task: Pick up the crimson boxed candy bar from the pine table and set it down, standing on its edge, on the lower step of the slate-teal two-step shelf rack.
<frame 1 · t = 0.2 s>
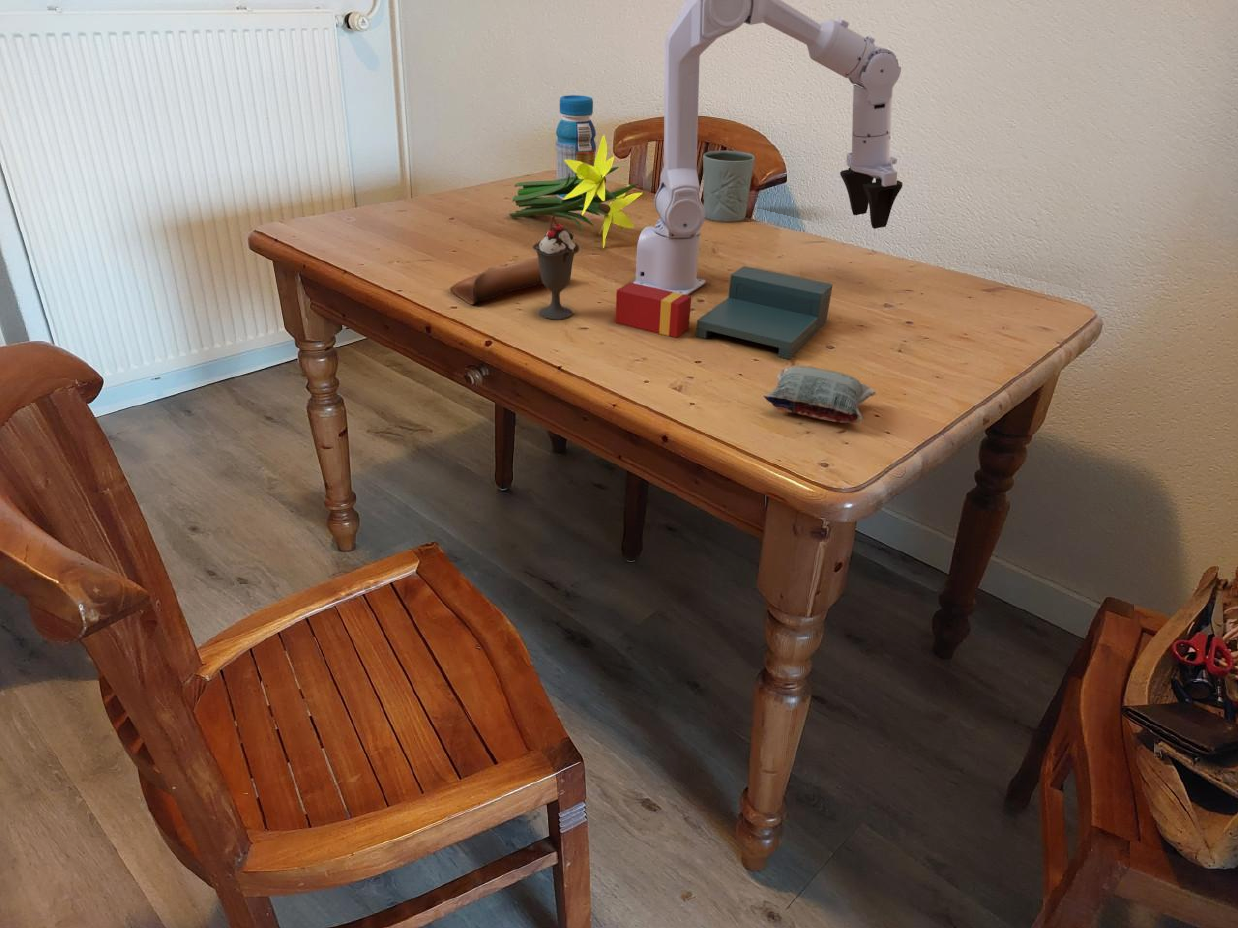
hand: (869, 220, 140), 11 cm above the table, tool pointing down, fingers open, 7 cm apart
candy bar: (651, 325, 126), on the table
packaged food: (816, 410, 106), on the table
shelf rack: (762, 329, 127), on the table
sundae: (555, 315, 129), on the table
sage green ceramic cup: (722, 217, 178), on the table
beverage bottle: (575, 198, 186), on the table
sunglasses case: (509, 289, 138), on the table
daffodil flowers: (564, 234, 164), on the table
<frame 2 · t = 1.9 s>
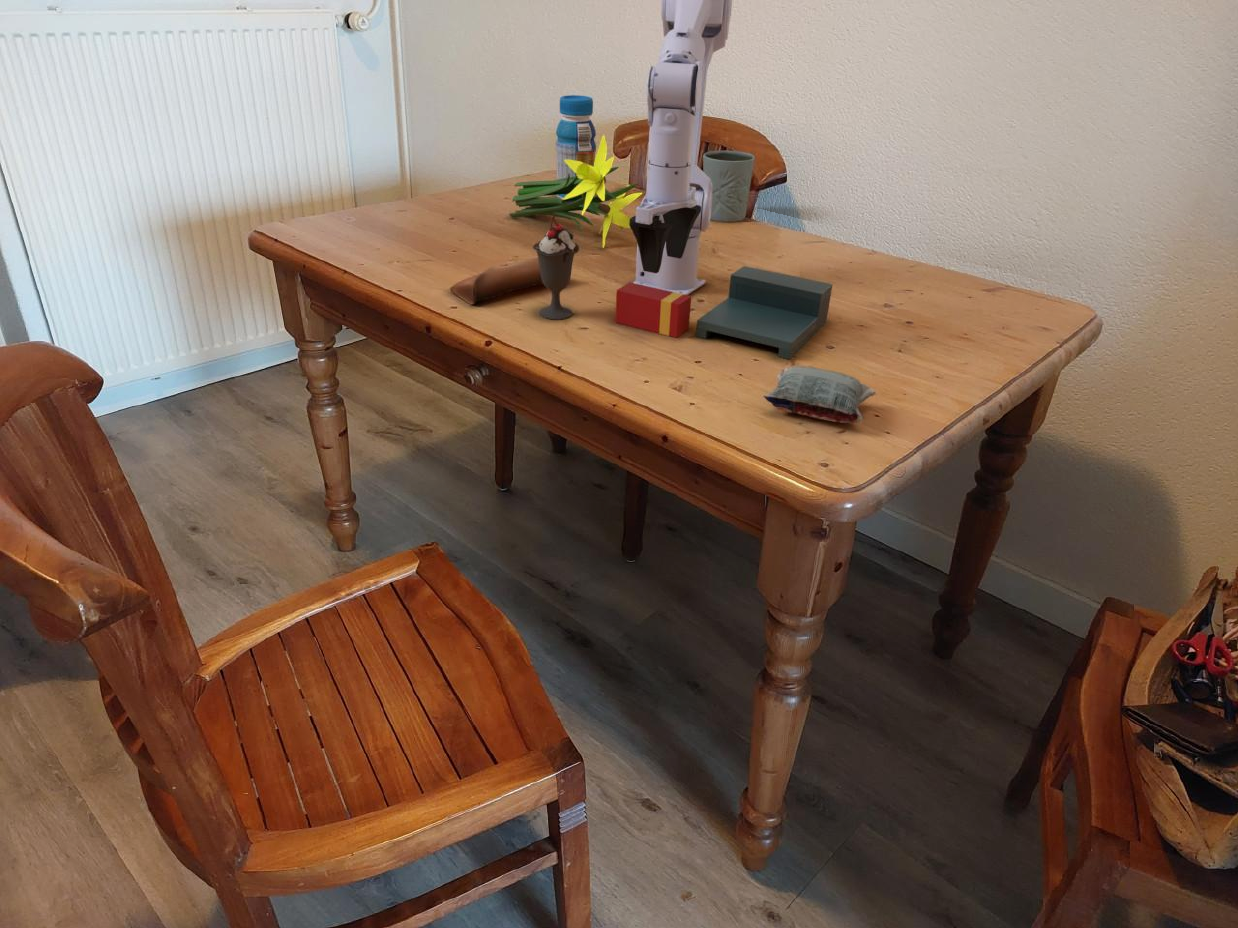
hand: (663, 264, 121), 9 cm above the table, tool pointing down, fingers open, 7 cm apart
nothing on the table moved.
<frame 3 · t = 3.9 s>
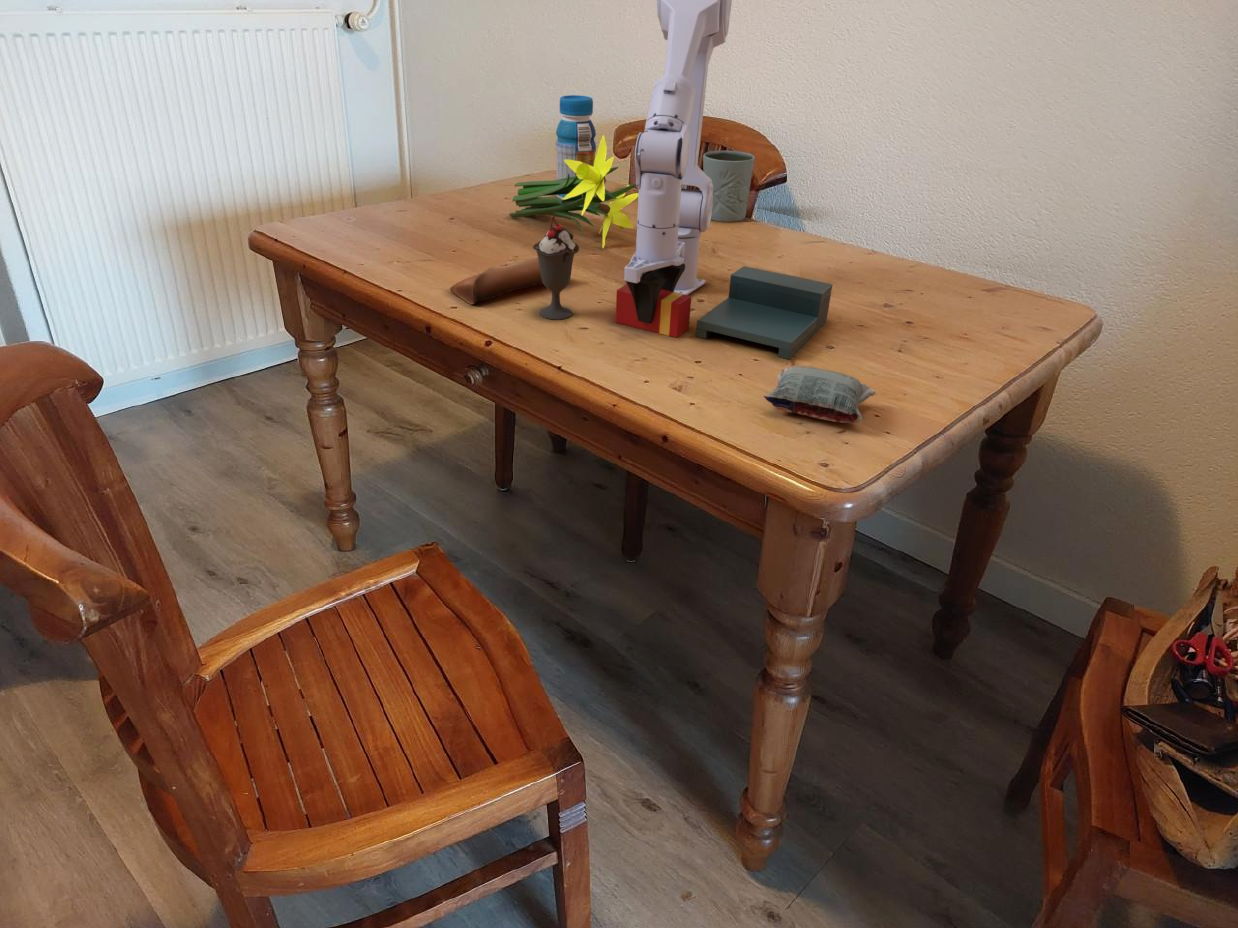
hand: (652, 316, 126), 1 cm above the table, tool pointing down, fingers closed on candy bar, 4 cm apart
candy bar: (652, 325, 126), on the table, touching gripper
everything else where it was.
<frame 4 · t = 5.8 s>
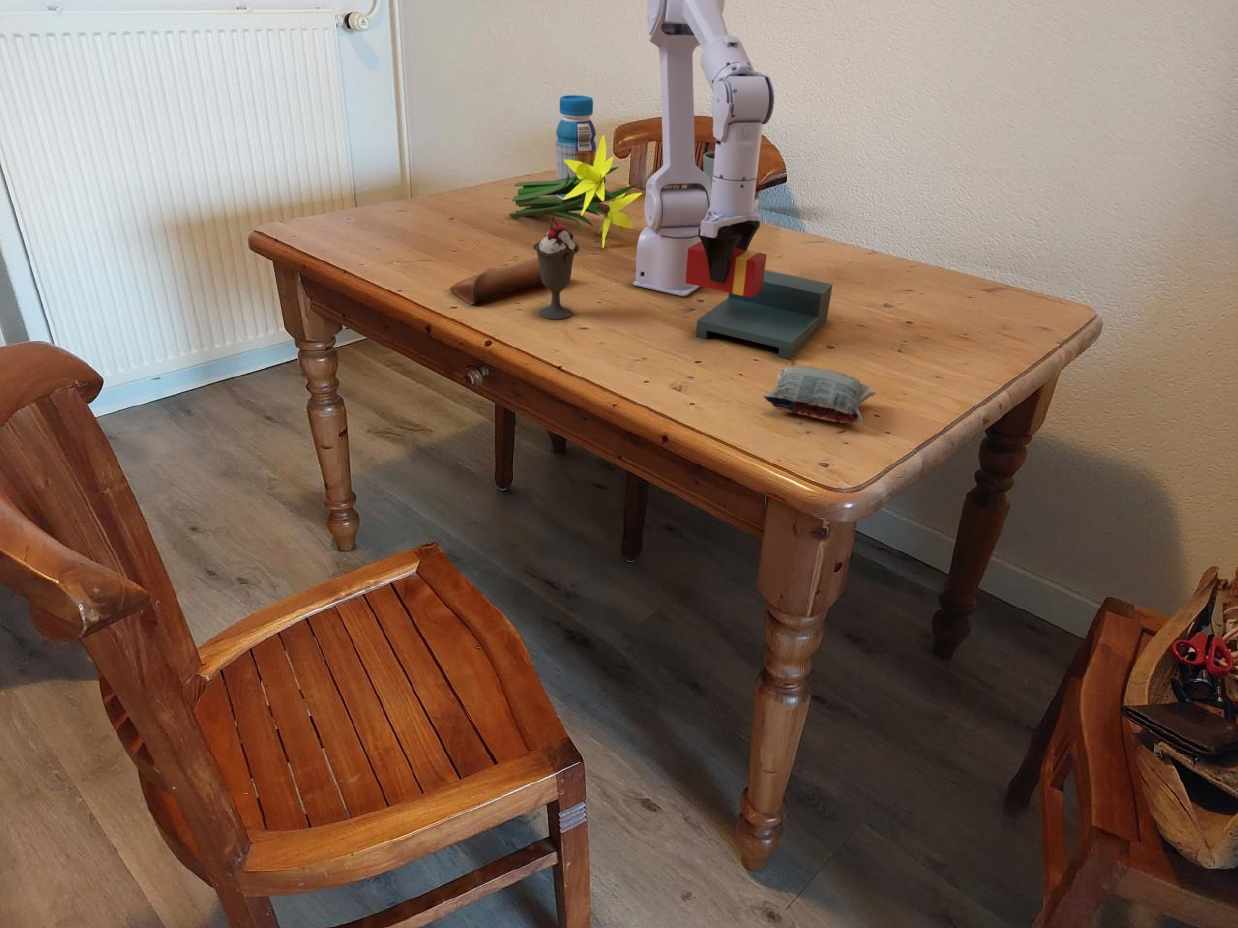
hand: (724, 276, 120), 8 cm above the table, tool pointing down, fingers closed on candy bar, 4 cm apart
candy bar: (723, 286, 121), point 7 cm above the table, touching gripper
everything else where it was.
when the fingers open (4 cm above the table, at t = 7.8 s): candy bar stays where it is, resting on shelf rack.
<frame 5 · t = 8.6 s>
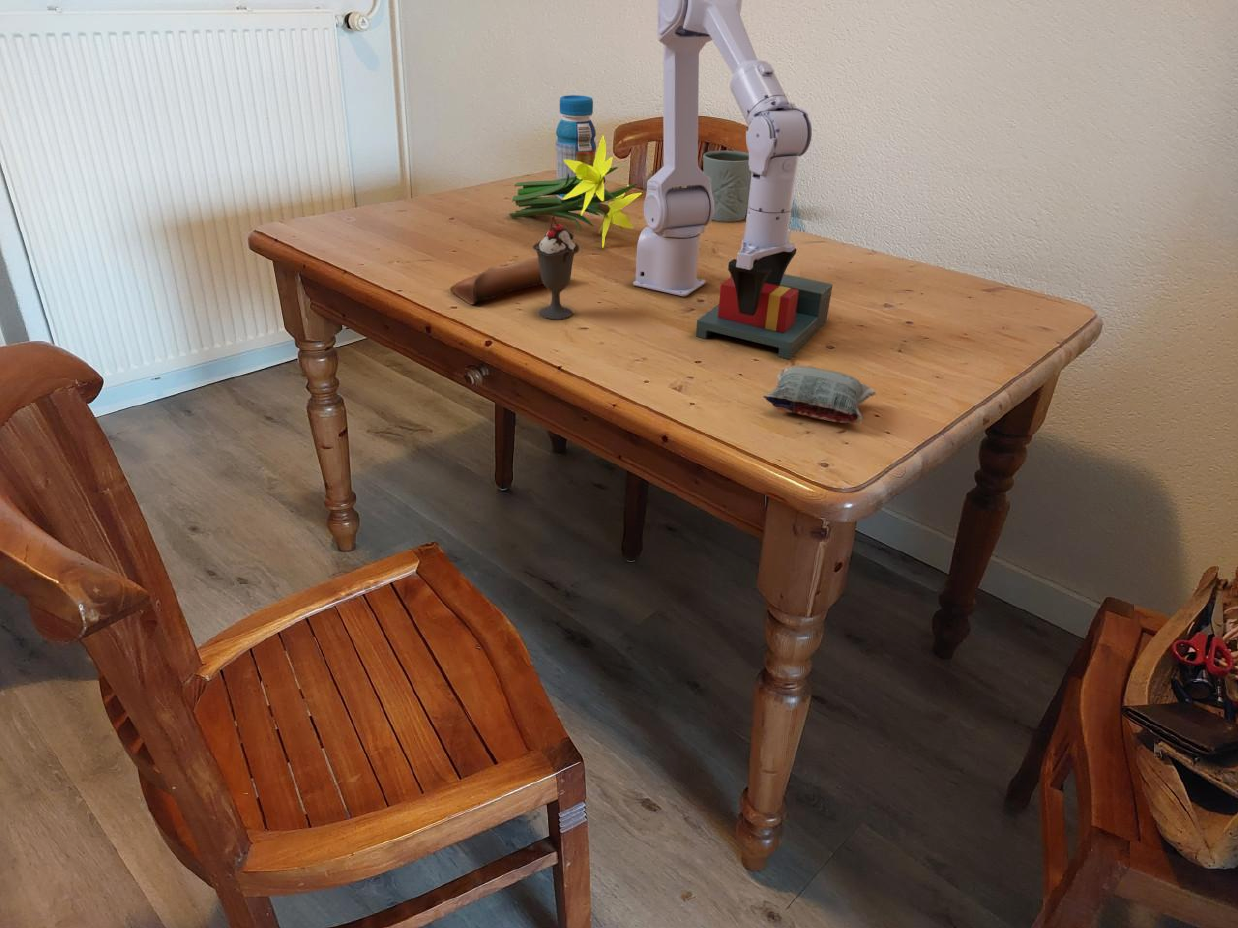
hand: (757, 305, 122), 5 cm above the table, tool pointing down, fingers open, 7 cm apart
candy bar: (755, 320, 123), point 3 cm above the table, touching shelf rack
everything else where it was.
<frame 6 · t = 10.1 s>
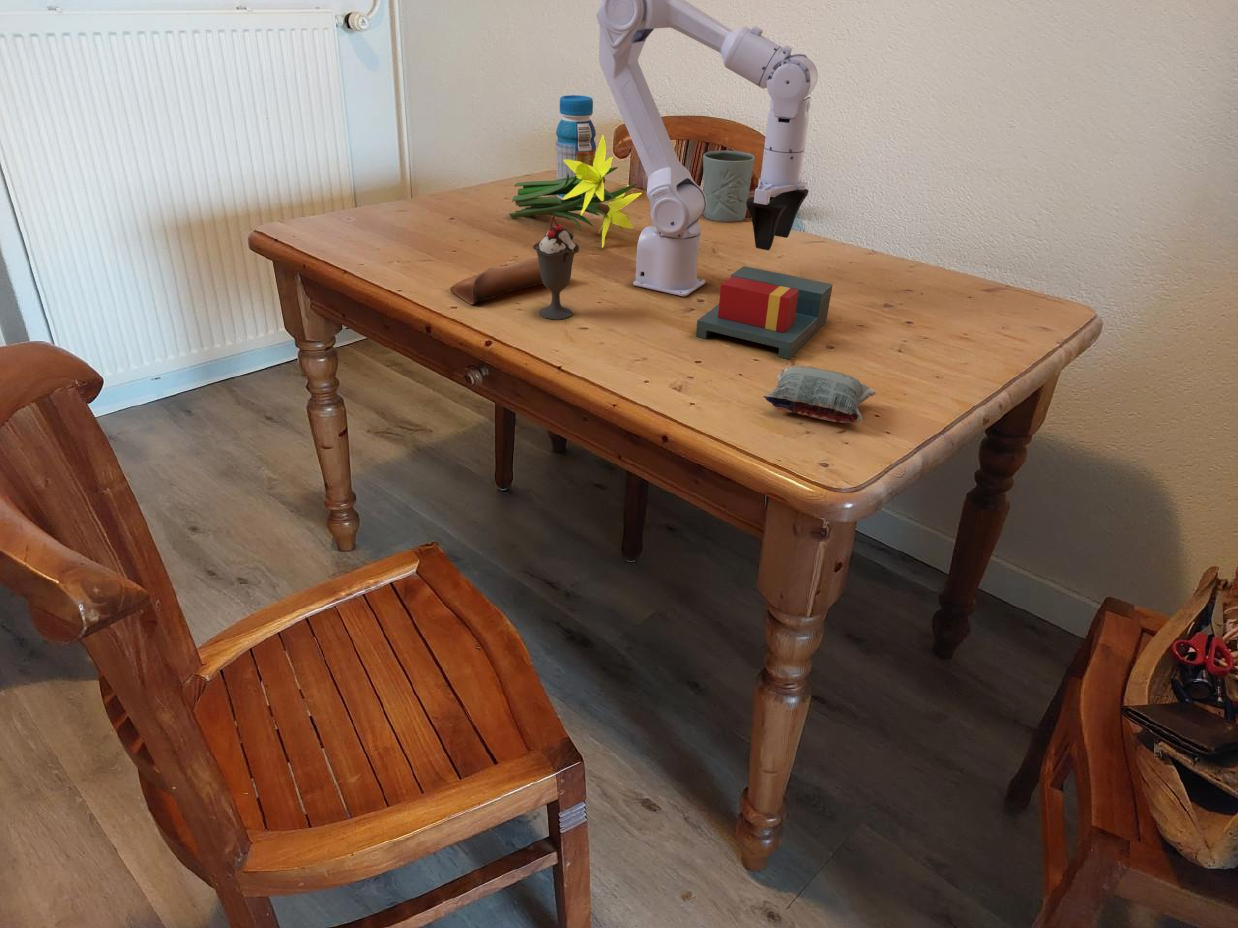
hand: (772, 242, 132), 9 cm above the table, tool pointing down, fingers open, 7 cm apart
nothing on the table moved.
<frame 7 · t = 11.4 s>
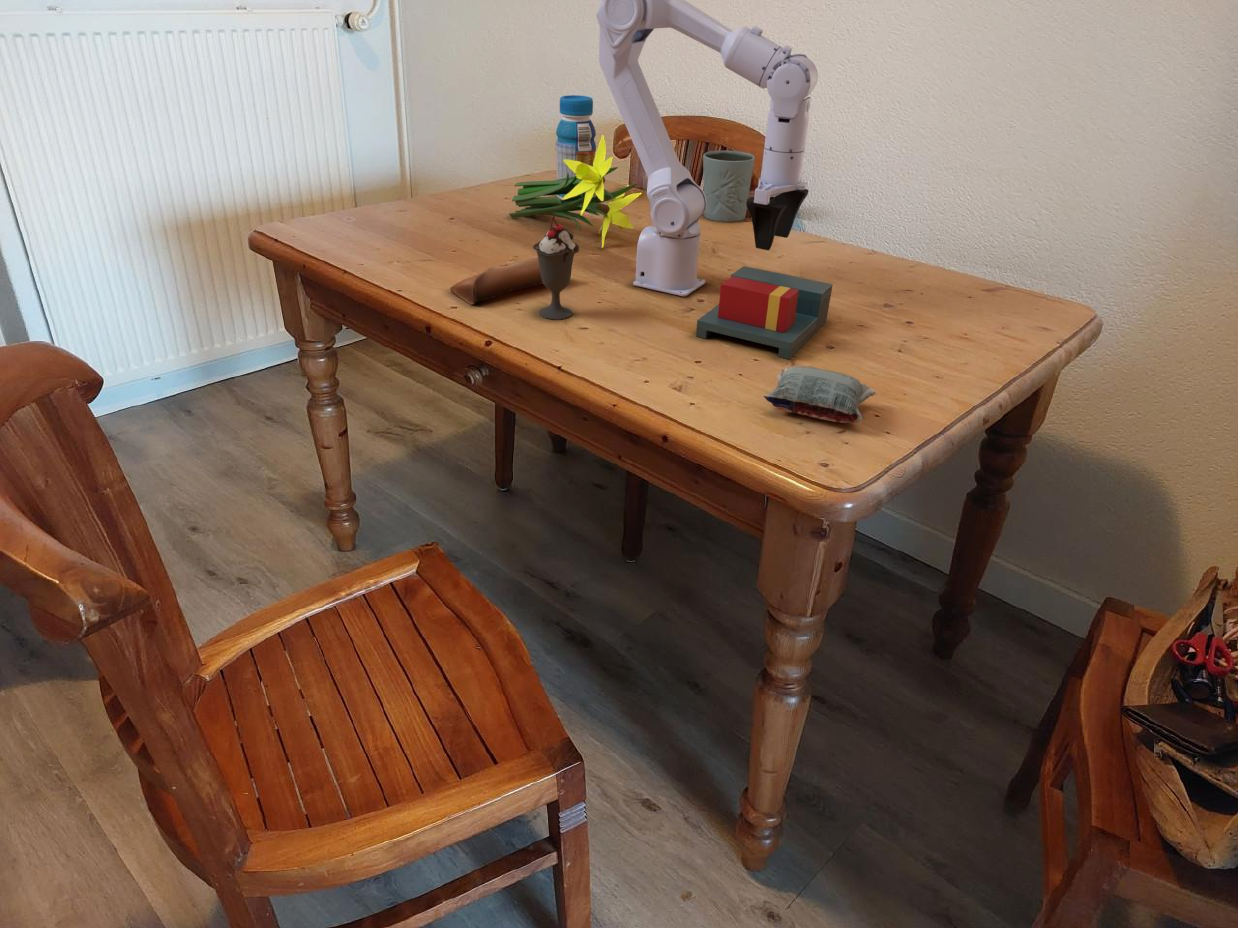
hand: (772, 242, 132), 9 cm above the table, tool pointing down, fingers open, 7 cm apart
nothing on the table moved.
at the end: candy bar inside the target area on the shelf rack (0.8 cm from its centre), point 2.5 cm above the shelf rack's base; candy bar tilted 0°; the gripper is holding nothing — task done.
